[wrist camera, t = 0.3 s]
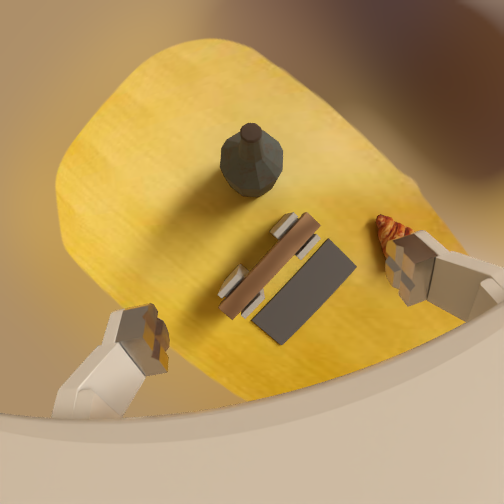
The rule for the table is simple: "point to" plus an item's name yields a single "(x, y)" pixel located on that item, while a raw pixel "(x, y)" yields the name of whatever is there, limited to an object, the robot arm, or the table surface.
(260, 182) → the bottle
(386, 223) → the croissant
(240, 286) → the rail
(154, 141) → the table surface
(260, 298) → the post
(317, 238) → the post
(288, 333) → the mat
